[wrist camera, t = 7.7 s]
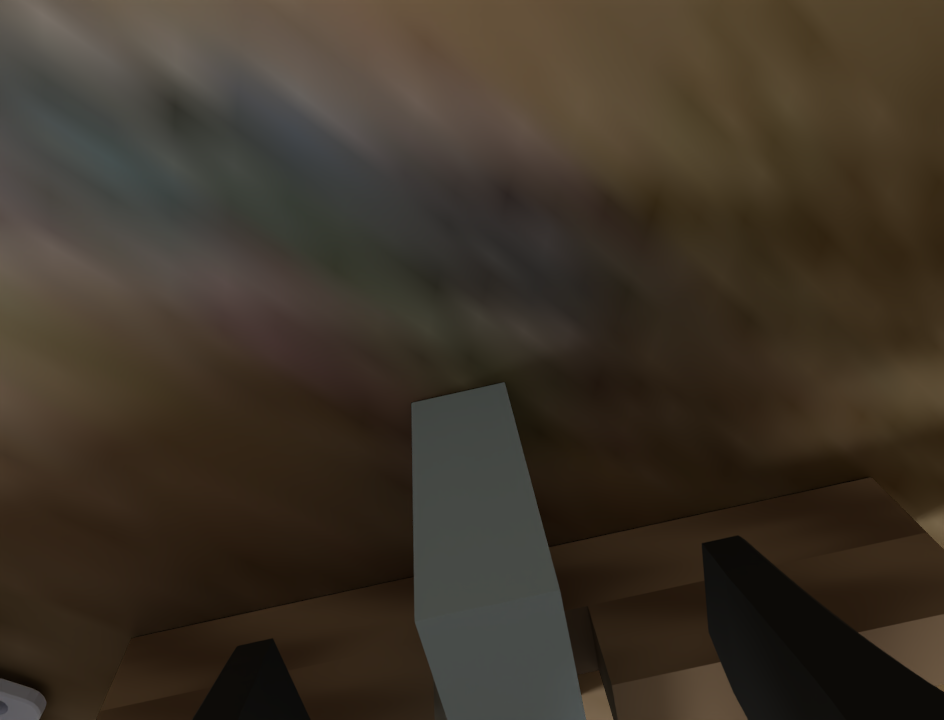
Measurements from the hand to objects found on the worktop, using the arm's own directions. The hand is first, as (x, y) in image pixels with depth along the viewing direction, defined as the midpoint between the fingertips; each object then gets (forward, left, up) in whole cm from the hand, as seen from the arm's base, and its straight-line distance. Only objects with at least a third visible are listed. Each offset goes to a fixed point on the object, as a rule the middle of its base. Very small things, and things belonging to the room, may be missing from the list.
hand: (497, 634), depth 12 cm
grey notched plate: (+2, -2, -5) cm, 5 cm away
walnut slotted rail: (+3, -2, -5) cm, 6 cm away
